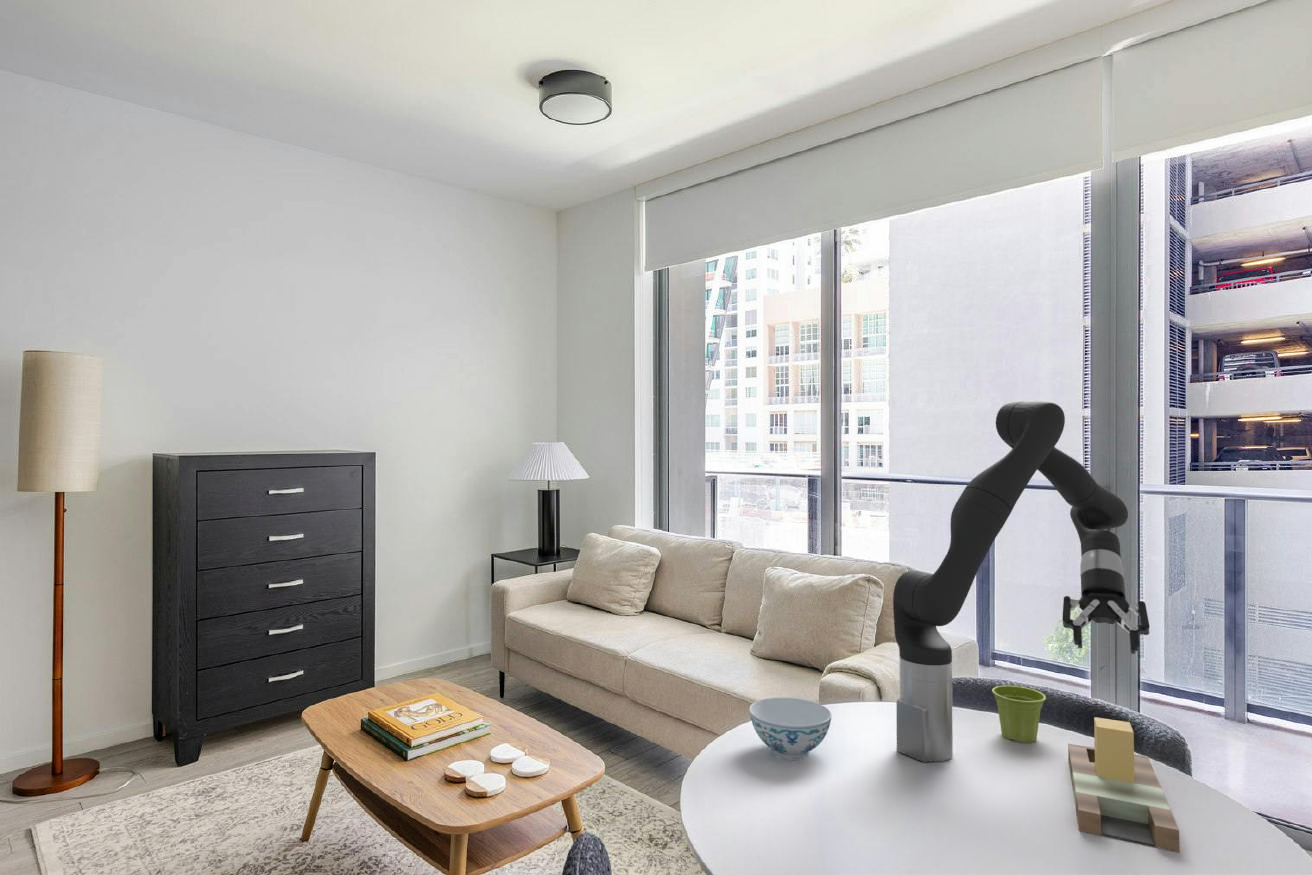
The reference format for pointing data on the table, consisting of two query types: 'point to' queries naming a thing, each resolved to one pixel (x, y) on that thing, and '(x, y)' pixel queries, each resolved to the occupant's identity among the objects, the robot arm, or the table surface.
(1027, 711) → the plant pot
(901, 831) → the table surface
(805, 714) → the chinaware
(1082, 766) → the box
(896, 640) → the robot arm
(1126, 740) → the ochre block
